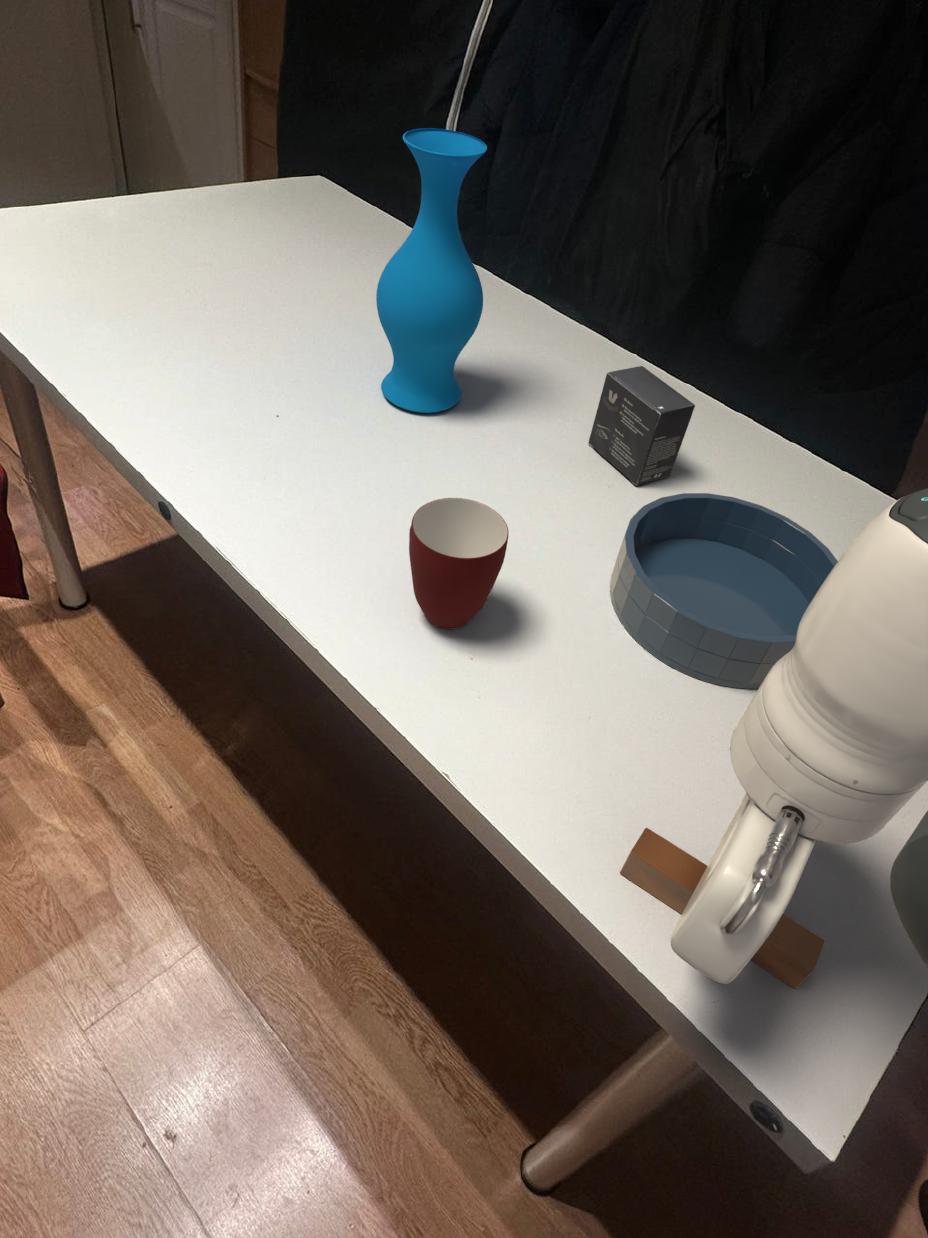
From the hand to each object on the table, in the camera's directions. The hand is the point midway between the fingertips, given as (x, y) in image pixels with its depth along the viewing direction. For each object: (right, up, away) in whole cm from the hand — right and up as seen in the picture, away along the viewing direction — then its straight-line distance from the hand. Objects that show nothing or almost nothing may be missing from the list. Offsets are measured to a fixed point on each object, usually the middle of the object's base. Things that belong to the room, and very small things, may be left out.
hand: (727, 879), depth 53 cm
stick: (0, -3, +3) cm, 5 cm away
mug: (-19, +18, +22) cm, 34 cm away
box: (+2, +35, +43) cm, 56 cm away
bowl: (+7, +18, +26) cm, 33 cm away
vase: (-22, +44, +48) cm, 69 cm away
